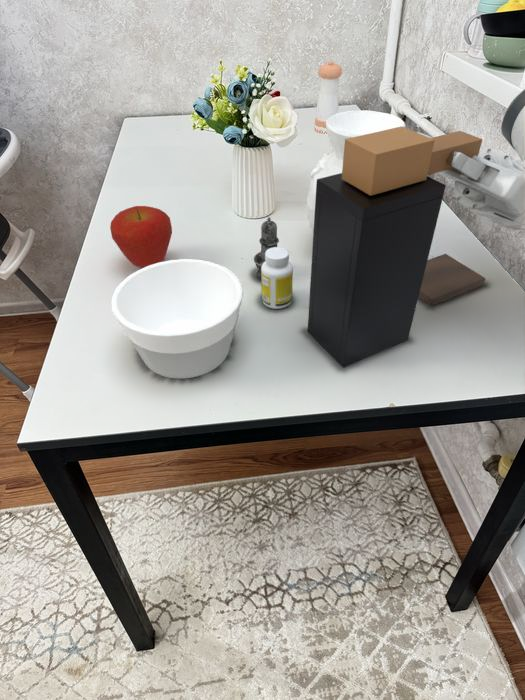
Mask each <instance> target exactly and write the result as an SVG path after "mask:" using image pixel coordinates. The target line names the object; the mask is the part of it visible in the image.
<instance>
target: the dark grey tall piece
mask: <svg viewBox="0 0 525 700" xmlns="http://www.w3.org/2000/svg"><path fill="white" fill-rule="evenodd" d="M277 225H278V224H277V223H276V222H275V221H274V220H272V218H271V217H270V216H268V217H267V218H266V220H265V221H264V222H262V223H261V226H260V234H261V235H260V238H259V240H258V241H259V244H260V251H259V252H257V253H256V254H255V255H254V256H253V262H254V264H255V266H256V268H257V271H256V272H255V278H256V279H257V280H258V281H261V282H262V279H261V267H262V264H263V263H264V262H265V252H266V251H267V250H268V249H270V248H273V247H278V243H280V239H279V237H278V226H277Z"/></svg>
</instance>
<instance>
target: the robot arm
mask: <svg viewBox="0 0 525 700" xmlns="http://www.w3.org/2000/svg"><path fill="white" fill-rule="evenodd" d="M500 131H501V134H502V136H503V138H504V139H505V140H506V141H507V142H508V144H509V146H511V147H512V149H513V150H514V151H515V152H516V153H517V155H518V157H519V158H520V160H521V161H518V160H516V159H515V158H513V157H512V156H511V155H509V154H508V153H506V152H505V151H503V150H502V149H498V148H486V149H482V150H480V151H479V154H478V156H476V155H475V156H473V158H470V157H467V156H466V155H464V154H463V153H460V152H458V151H455V150H453V151H451V153H450V156H449V157H448V158H447V160H446V163H447V164H449V165H450V166H452V167H454V168H452V169H448V170H445V171H441V172H438V173H437V174H439V175H442V176H444V177H446V178H447V179H450V180H452V181H454V186H453V187H454V190H453V191H454V196H455V197H456V199H457V202H458V203H459V204H460V205H462V206H463V207H465V208H467V209H469V210H470V211H472V212H473V213H476V214H478V215H479V216H482V217H485V218H487V219H488V220H489V221H491V222H493V223H494V224H497V225H499V226H501V227H503V228H506V229H509V230H515V231H525V88H523V90H522V91H521V92H519V94H517V95H516V96H515V97H514V98H513V99H512V101H511V102H510V104H509V105H508V107H507V109H506V110H505V113H504V115H503V118H502V122H501V129H500ZM417 133H419V134H421V135H424V136H426V137H429V138H433V137H434V136H433V137H432V136H430V135H427V134H426V133H422V132H420V131H417Z"/></svg>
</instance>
